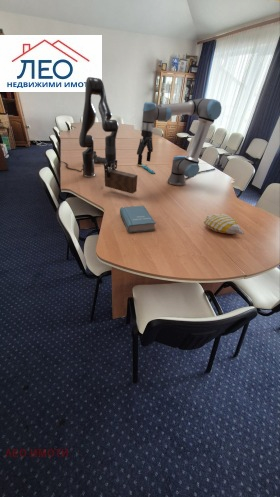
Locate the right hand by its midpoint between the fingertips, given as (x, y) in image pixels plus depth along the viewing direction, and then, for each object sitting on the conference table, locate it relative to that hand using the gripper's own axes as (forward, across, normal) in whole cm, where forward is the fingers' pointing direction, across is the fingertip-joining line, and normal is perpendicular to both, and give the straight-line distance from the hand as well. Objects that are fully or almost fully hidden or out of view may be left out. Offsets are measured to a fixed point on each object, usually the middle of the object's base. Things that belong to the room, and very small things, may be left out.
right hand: (144, 162), depth 160 cm
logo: (+22, +62, +27) cm, 71 cm away
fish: (+23, -19, -68) cm, 74 cm away
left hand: (+12, -12, +20) cm, 26 cm away
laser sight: (+24, +44, +77) cm, 92 cm away
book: (+24, -41, -19) cm, 51 cm away
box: (+19, -12, +12) cm, 25 cm away
